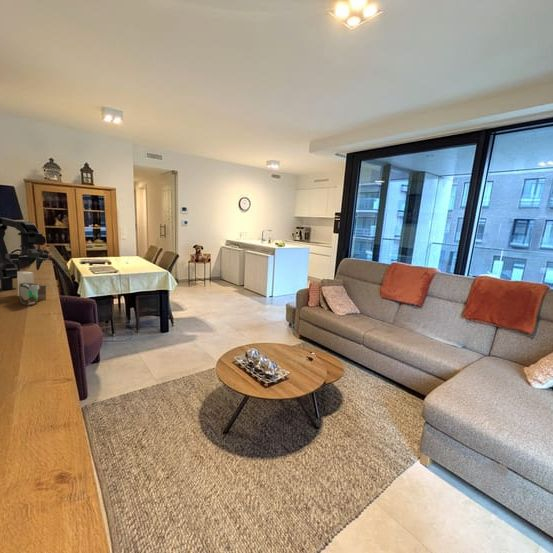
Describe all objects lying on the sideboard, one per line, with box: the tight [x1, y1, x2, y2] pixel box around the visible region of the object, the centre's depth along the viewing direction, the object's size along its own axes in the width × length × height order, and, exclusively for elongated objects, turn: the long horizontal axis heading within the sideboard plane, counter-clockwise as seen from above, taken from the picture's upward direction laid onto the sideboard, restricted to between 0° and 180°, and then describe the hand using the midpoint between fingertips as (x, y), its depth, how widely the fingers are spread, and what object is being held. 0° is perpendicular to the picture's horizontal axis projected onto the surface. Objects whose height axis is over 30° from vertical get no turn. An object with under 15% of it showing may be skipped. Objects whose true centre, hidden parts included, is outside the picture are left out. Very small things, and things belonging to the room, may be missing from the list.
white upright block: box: [16, 270, 35, 297], centre depth 164 cm, size 8×4×14 cm, turn 62°
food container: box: [19, 282, 40, 307], centre depth 154 cm, size 12×6×10 cm, turn 58°
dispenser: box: [19, 283, 47, 302], centre depth 159 cm, size 5×10×8 cm, turn 152°
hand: (28, 270), depth 174 cm, fingers open, 9 cm apart
